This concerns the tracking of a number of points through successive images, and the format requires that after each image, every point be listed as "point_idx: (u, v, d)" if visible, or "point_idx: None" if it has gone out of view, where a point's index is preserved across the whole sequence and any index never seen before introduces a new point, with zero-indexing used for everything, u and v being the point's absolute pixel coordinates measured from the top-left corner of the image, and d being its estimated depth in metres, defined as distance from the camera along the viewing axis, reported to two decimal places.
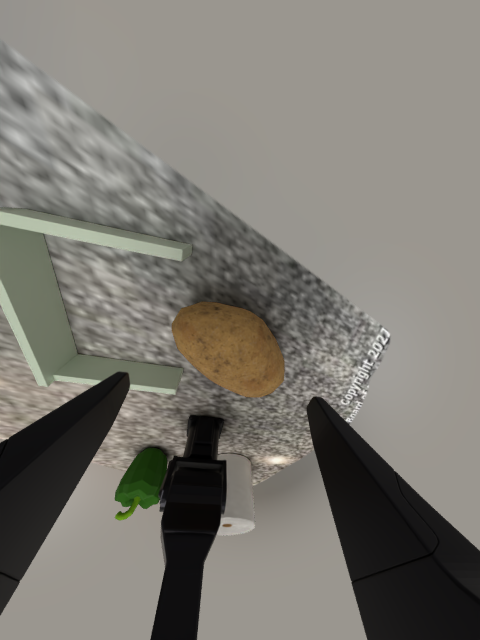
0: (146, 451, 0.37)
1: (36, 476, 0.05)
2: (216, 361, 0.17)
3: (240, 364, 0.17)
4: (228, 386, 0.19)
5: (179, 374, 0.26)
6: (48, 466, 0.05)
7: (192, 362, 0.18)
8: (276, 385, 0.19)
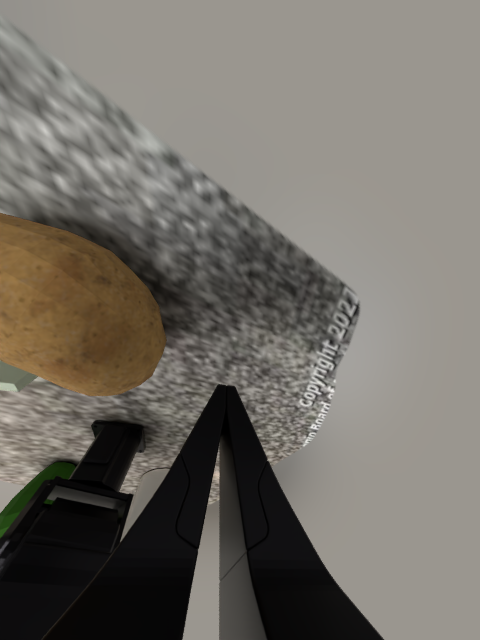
0: (50, 467, 0.28)
1: None
2: None
3: (7, 325, 0.08)
4: (39, 375, 0.10)
5: None
6: None
7: None
8: (124, 373, 0.10)
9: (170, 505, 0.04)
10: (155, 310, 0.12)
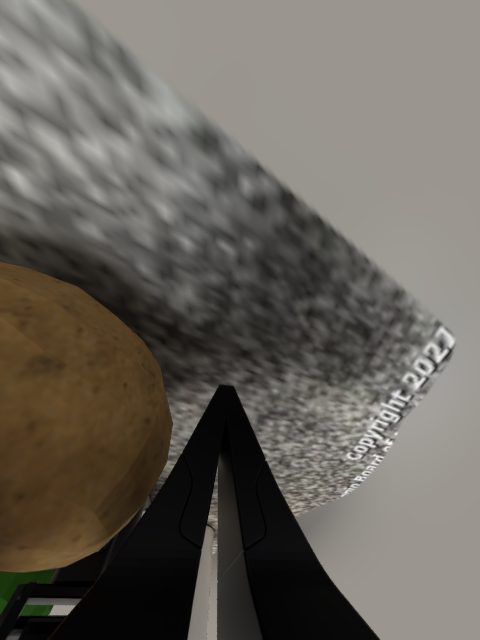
0: None
1: None
2: None
3: None
4: None
5: None
6: None
7: None
8: (93, 542, 0.05)
9: (173, 505, 0.04)
10: (154, 385, 0.07)
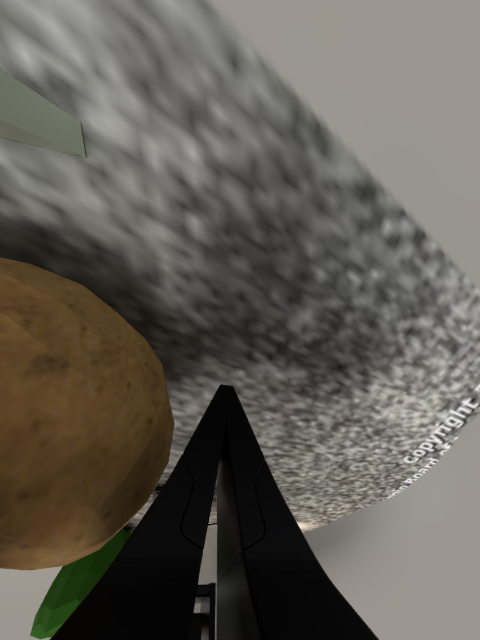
0: None
1: None
2: None
3: None
4: None
5: None
6: None
7: None
8: (94, 542, 0.05)
9: (175, 505, 0.04)
10: (157, 385, 0.07)
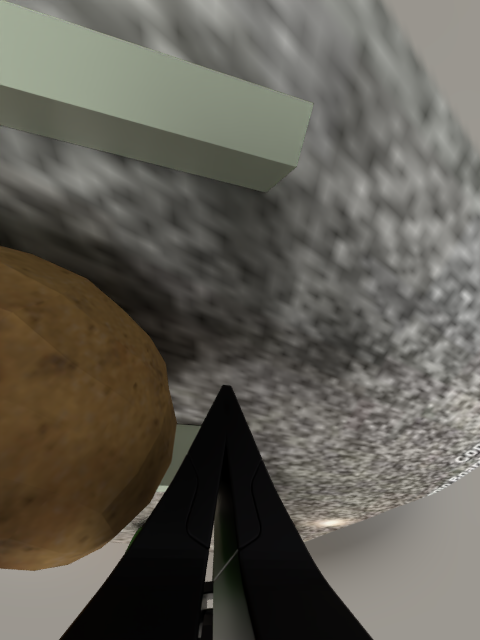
0: None
1: None
2: None
3: None
4: None
5: None
6: None
7: None
8: (98, 542, 0.05)
9: (180, 506, 0.04)
10: (162, 385, 0.07)
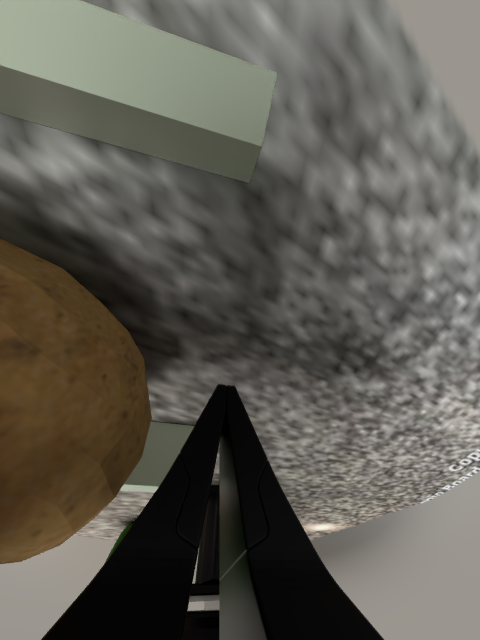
0: None
1: None
2: None
3: None
4: None
5: None
6: None
7: None
8: (54, 537, 0.05)
9: (170, 505, 0.04)
10: (135, 378, 0.07)
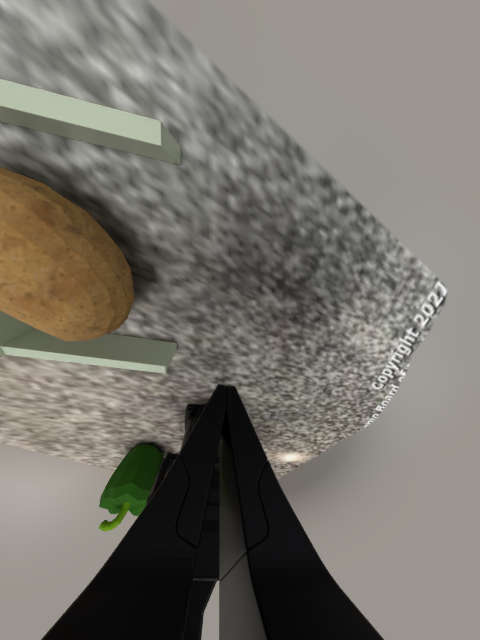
0: (138, 448, 0.31)
1: None
2: None
3: None
4: (9, 313, 0.11)
5: (171, 349, 0.21)
6: None
7: None
8: (88, 315, 0.11)
9: (170, 505, 0.04)
10: (124, 268, 0.14)
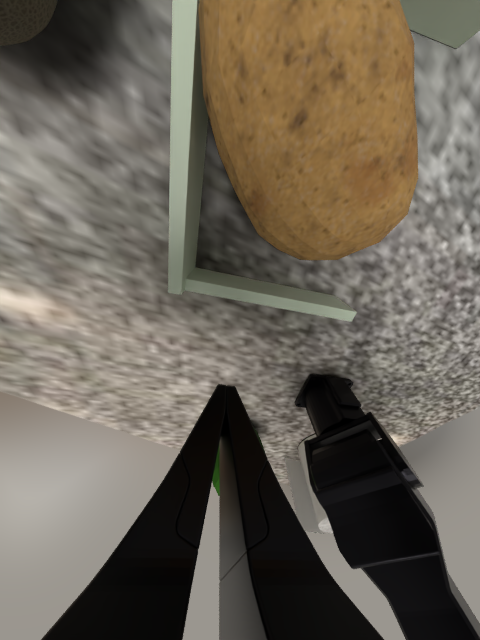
0: None
1: None
2: (310, 71, 0.07)
3: (368, 84, 0.07)
4: (304, 200, 0.09)
5: (339, 299, 0.18)
6: None
7: (239, 109, 0.08)
8: (406, 204, 0.09)
9: (170, 505, 0.04)
10: None
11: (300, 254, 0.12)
